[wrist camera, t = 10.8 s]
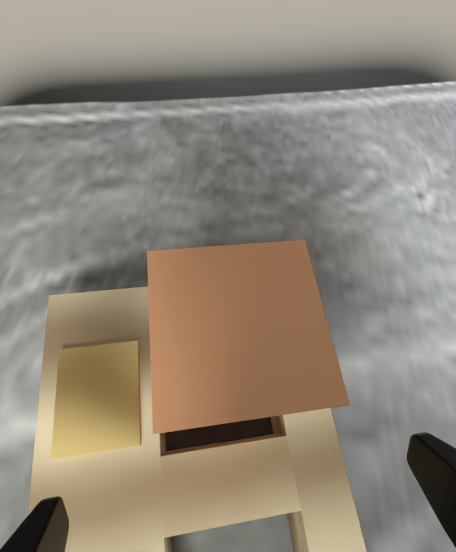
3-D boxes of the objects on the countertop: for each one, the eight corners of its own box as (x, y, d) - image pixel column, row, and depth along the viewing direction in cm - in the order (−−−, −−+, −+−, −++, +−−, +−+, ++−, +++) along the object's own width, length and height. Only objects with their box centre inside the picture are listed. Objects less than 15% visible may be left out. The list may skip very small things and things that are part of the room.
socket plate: (385, 736, 13) (438, 826, 10) (32, 846, 12) (-25, 995, 9) (284, 291, 22) (297, 270, 19) (69, 312, 20) (46, 293, 17)
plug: (251, 416, 18) (349, 405, 7) (182, 427, 18) (153, 433, 6) (241, 347, 20) (304, 239, 8) (177, 355, 19) (146, 250, 8)
